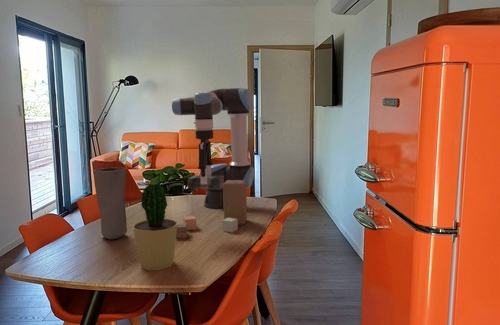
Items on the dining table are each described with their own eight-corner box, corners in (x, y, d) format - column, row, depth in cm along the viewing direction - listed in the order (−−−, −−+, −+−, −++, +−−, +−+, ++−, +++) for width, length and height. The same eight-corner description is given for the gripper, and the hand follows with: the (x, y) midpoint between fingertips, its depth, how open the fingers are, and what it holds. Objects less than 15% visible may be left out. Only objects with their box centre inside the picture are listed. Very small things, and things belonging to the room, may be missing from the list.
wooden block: (247, 219, 205) (246, 179, 202) (244, 225, 195) (244, 183, 192) (227, 219, 206) (226, 179, 203) (223, 225, 196) (222, 183, 193)
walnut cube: (175, 234, 183) (175, 223, 182) (187, 234, 183) (186, 223, 183) (174, 238, 178) (174, 227, 177) (186, 238, 178) (185, 226, 178)
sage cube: (228, 228, 192) (228, 217, 191) (237, 229, 189) (237, 218, 188) (222, 231, 187) (222, 220, 187) (232, 232, 185) (231, 221, 184)
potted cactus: (182, 256, 157) (178, 177, 153) (175, 272, 142) (171, 185, 137) (141, 257, 157) (136, 178, 152) (130, 273, 141) (124, 186, 137)
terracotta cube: (183, 227, 194) (183, 217, 193) (194, 226, 195) (193, 215, 195) (185, 230, 189) (185, 219, 188) (196, 229, 191) (196, 218, 190)
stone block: (194, 185, 187) (194, 173, 186) (225, 186, 184) (225, 175, 183) (187, 189, 178) (187, 176, 177) (220, 190, 175) (220, 178, 175)
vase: (93, 237, 180) (88, 169, 176) (119, 231, 189) (115, 166, 185) (107, 244, 172) (103, 172, 168) (134, 236, 181) (130, 168, 177)
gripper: (201, 128, 188) (202, 177, 191) (189, 131, 167) (191, 186, 170) (217, 127, 187) (218, 177, 190) (208, 131, 166) (209, 186, 169)
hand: (206, 181), depth 180 cm, fingers closed on stone block, 8 cm apart
